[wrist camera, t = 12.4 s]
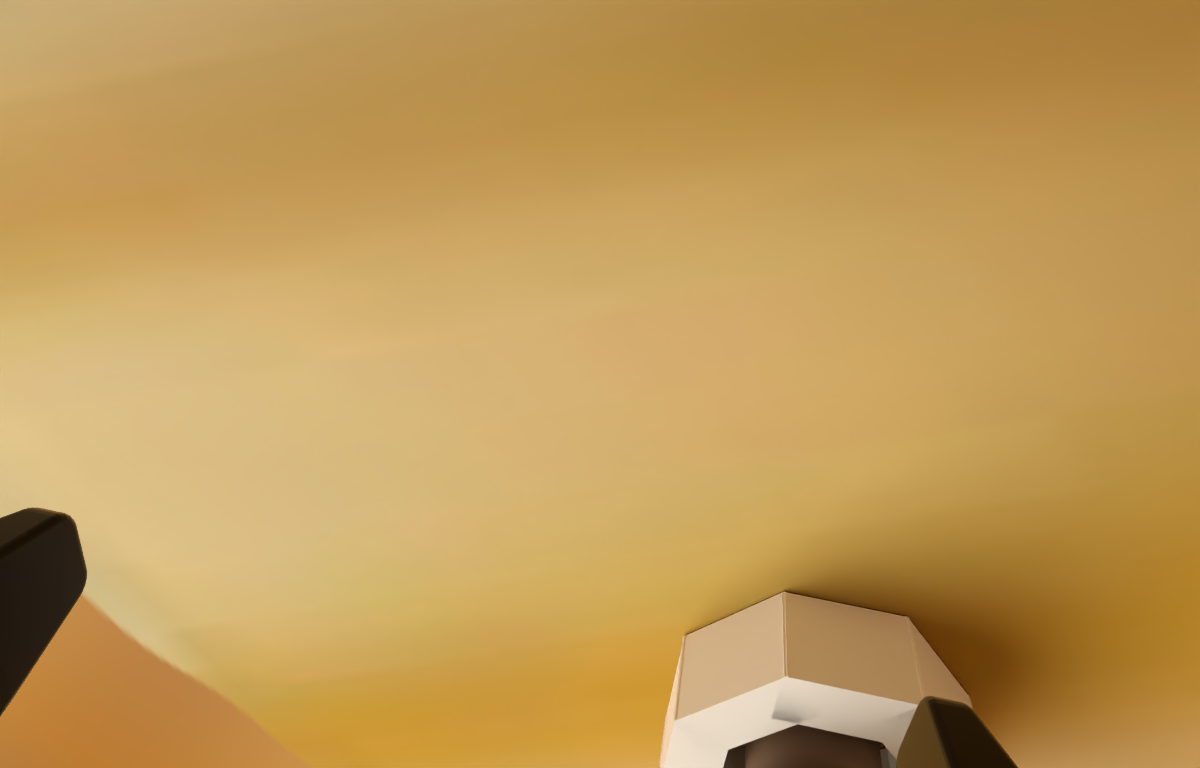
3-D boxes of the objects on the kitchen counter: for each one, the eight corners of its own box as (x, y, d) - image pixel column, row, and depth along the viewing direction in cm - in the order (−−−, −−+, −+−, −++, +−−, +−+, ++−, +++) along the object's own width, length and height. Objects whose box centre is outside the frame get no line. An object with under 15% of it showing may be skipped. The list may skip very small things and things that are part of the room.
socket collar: (998, 634, 23) (1029, 727, 20) (910, 821, 27) (925, 919, 24) (697, 573, 23) (688, 655, 21) (654, 764, 27) (642, 852, 25)
